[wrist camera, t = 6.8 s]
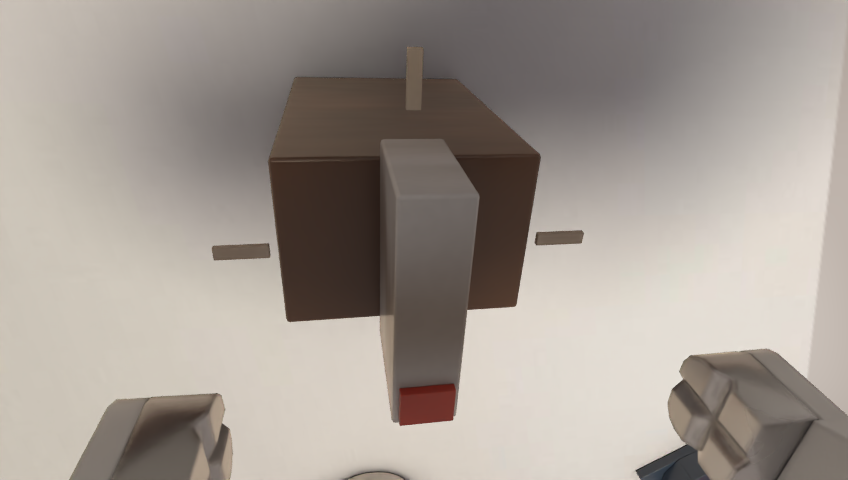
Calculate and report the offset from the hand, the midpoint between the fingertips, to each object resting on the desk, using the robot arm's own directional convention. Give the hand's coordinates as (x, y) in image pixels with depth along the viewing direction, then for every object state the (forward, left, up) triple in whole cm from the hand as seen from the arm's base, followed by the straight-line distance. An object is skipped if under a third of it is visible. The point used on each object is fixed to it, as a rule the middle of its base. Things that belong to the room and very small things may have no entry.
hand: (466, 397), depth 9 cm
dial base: (0, 0, -16) cm, 16 cm away
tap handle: (0, 0, -6) cm, 6 cm away
